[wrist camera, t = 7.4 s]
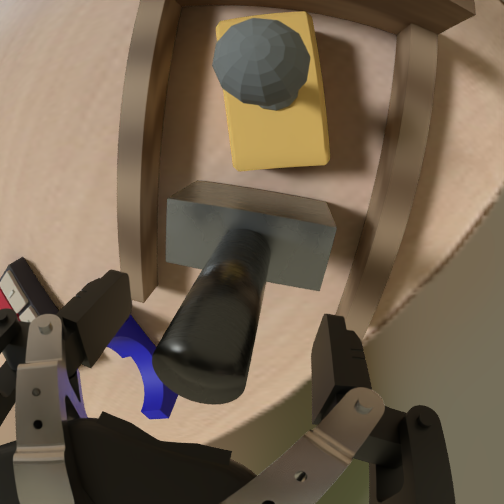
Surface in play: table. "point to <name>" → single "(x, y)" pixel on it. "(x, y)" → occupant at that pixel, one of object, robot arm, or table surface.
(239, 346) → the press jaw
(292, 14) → the rubber stamp
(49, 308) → the calculator
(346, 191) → the table surface
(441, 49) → the table surface
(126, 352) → the blue pipe saddle
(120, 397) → the table surface
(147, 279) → the frame
